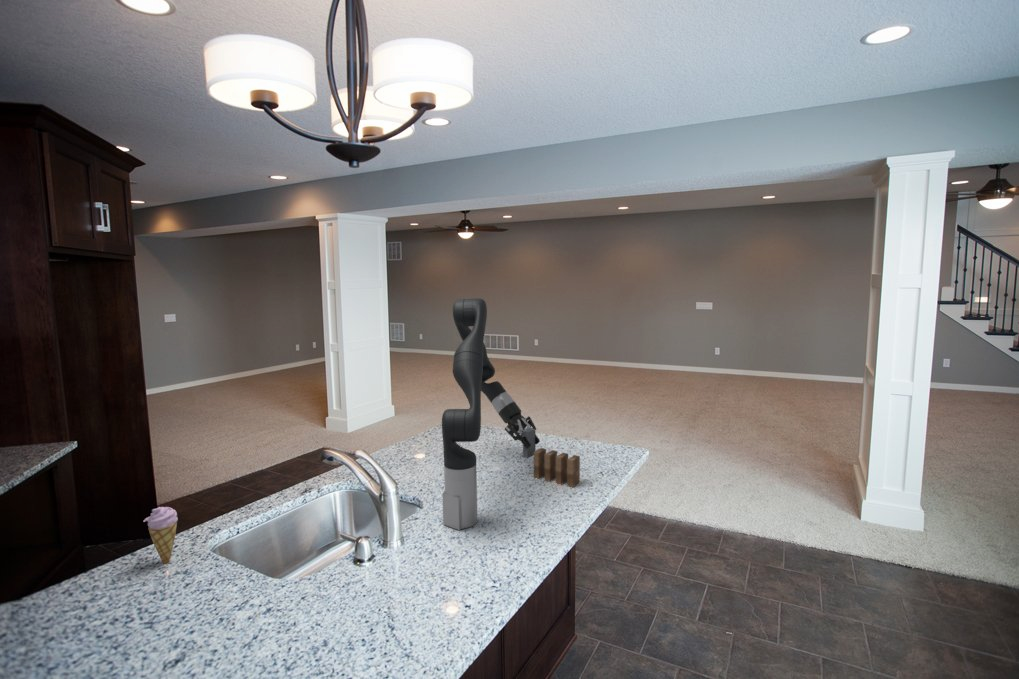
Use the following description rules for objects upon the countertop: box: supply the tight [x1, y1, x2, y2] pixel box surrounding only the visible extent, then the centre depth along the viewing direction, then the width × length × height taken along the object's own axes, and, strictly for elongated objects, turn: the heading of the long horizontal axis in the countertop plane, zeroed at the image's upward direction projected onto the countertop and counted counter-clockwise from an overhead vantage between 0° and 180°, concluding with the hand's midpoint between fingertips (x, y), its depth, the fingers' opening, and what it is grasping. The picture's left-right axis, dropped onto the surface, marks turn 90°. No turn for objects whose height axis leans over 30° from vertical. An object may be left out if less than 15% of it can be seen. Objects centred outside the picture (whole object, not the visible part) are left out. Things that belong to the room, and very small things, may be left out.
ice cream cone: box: [143, 506, 179, 564], centre depth 128 cm, size 7×6×15 cm
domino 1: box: [522, 427, 536, 459], centre depth 183 cm, size 5×2×10 cm, turn 144°
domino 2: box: [533, 447, 547, 480], centre depth 181 cm, size 5×2×10 cm, turn 144°
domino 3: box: [544, 449, 558, 483], centre depth 179 cm, size 5×2×10 cm, turn 144°
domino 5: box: [566, 454, 581, 489], centre depth 174 cm, size 5×2×10 cm, turn 144°
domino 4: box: [555, 452, 569, 485], centre depth 176 cm, size 5×2×10 cm, turn 144°
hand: (533, 444), depth 182 cm, fingers closed on domino 1, 5 cm apart
